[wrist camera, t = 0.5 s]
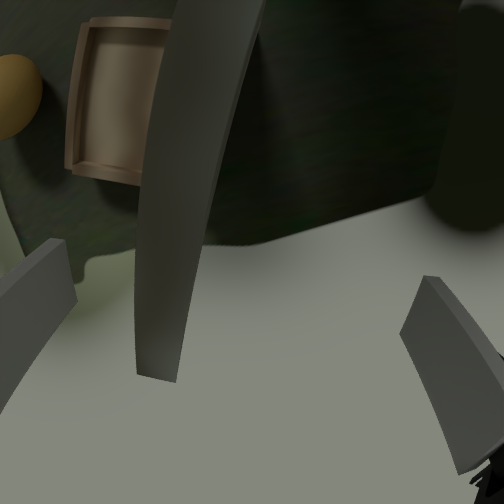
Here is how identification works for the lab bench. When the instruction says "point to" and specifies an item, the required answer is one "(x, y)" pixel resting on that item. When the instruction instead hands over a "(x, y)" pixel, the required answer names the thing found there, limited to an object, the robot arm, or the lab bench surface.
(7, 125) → the stress ball
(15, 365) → the robot arm
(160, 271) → the ledge stand
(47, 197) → the lab bench surface
